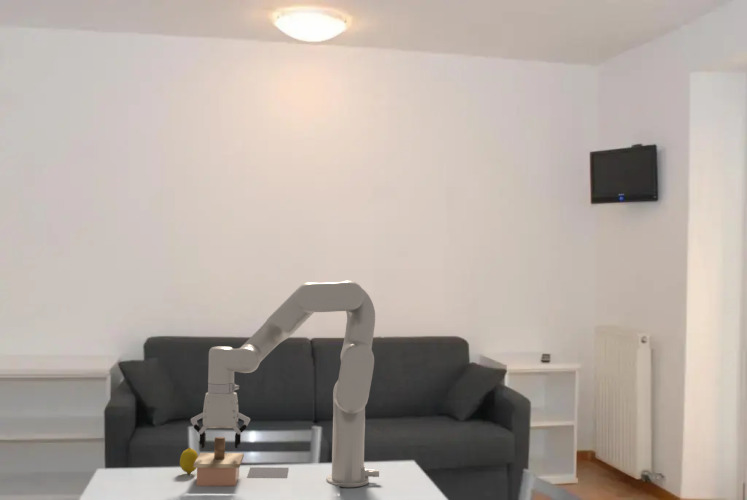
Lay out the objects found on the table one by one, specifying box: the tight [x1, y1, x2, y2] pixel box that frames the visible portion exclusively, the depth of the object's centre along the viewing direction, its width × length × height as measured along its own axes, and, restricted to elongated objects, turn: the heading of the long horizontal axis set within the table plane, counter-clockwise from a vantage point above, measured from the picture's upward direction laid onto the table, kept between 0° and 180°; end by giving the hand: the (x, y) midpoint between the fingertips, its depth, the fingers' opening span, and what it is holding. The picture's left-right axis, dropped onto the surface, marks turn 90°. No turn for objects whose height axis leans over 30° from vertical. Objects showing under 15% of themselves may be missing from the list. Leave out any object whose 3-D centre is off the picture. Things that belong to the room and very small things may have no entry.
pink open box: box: [196, 467, 240, 487], centre depth 234 cm, size 11×11×6 cm
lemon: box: [179, 447, 199, 475], centre depth 242 cm, size 6×6×8 cm
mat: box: [246, 466, 289, 479], centre depth 244 cm, size 12×12×1 cm
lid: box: [193, 436, 245, 469], centre depth 234 cm, size 13×13×7 cm
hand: (220, 447), depth 234 cm, fingers open, 9 cm apart
